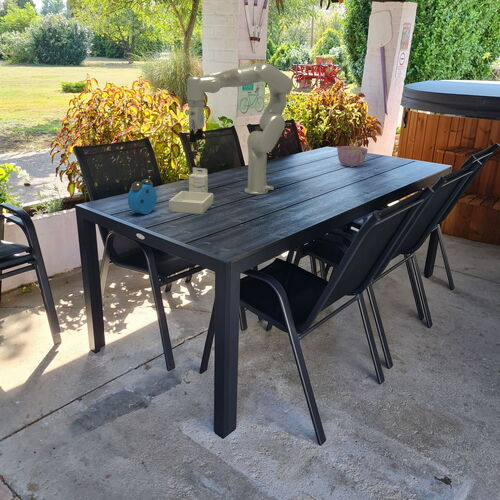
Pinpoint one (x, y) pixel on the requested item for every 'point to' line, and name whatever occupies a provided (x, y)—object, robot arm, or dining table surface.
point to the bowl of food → (351, 155)
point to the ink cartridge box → (198, 181)
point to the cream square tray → (191, 202)
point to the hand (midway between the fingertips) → (196, 140)
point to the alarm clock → (142, 197)
